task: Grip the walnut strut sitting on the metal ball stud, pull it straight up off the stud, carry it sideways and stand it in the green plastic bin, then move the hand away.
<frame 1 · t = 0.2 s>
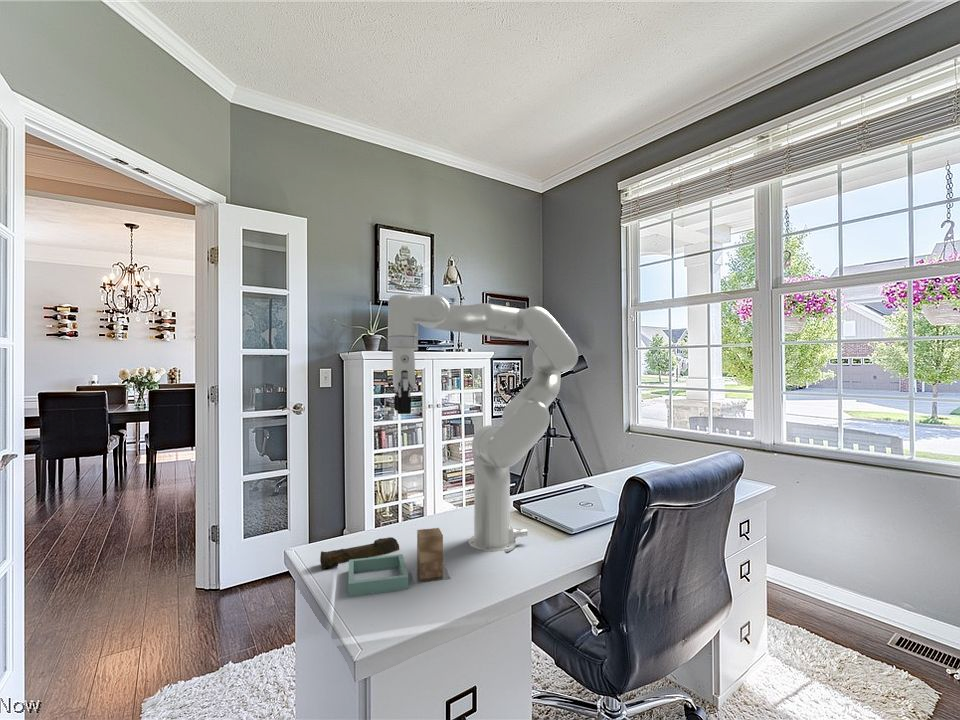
hand: (402, 412, 113), 36 cm above the table, tool pointing down, fingers open, 9 cm apart
hand tool: (360, 561, 110), on the table
bin: (377, 584, 98), on the table
stud base: (429, 577, 101), on the table
strut: (429, 572, 101), point 1 cm above the table, touching stud base
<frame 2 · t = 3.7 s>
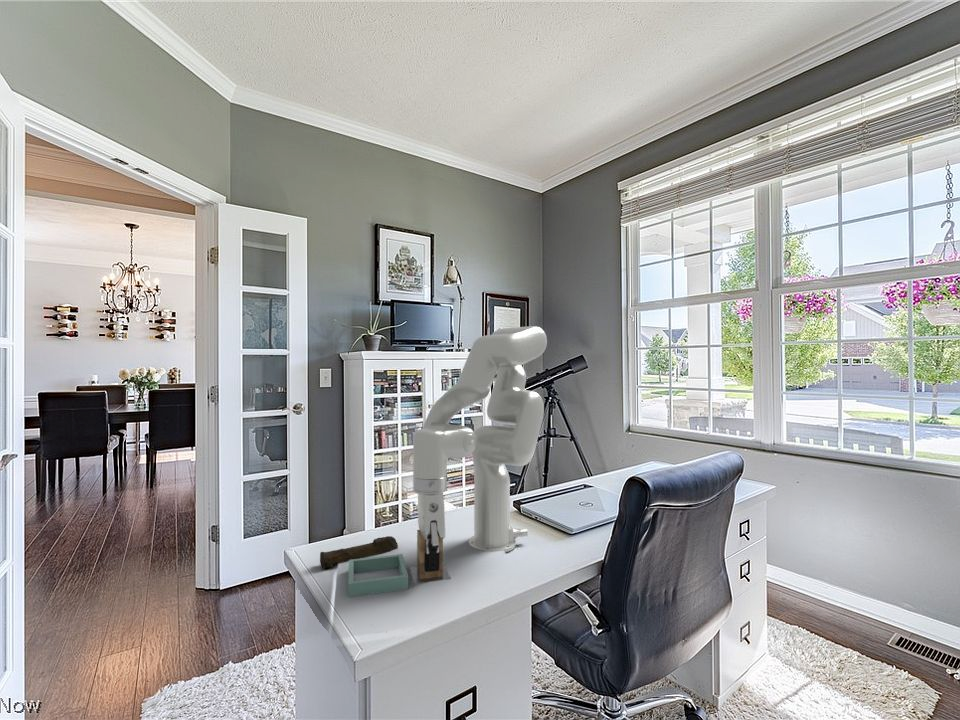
hand: (429, 564, 101), 3 cm above the table, tool pointing down, fingers closed on strut, 5 cm apart
strut: (429, 572, 101), point 1 cm above the table, touching gripper, stud base
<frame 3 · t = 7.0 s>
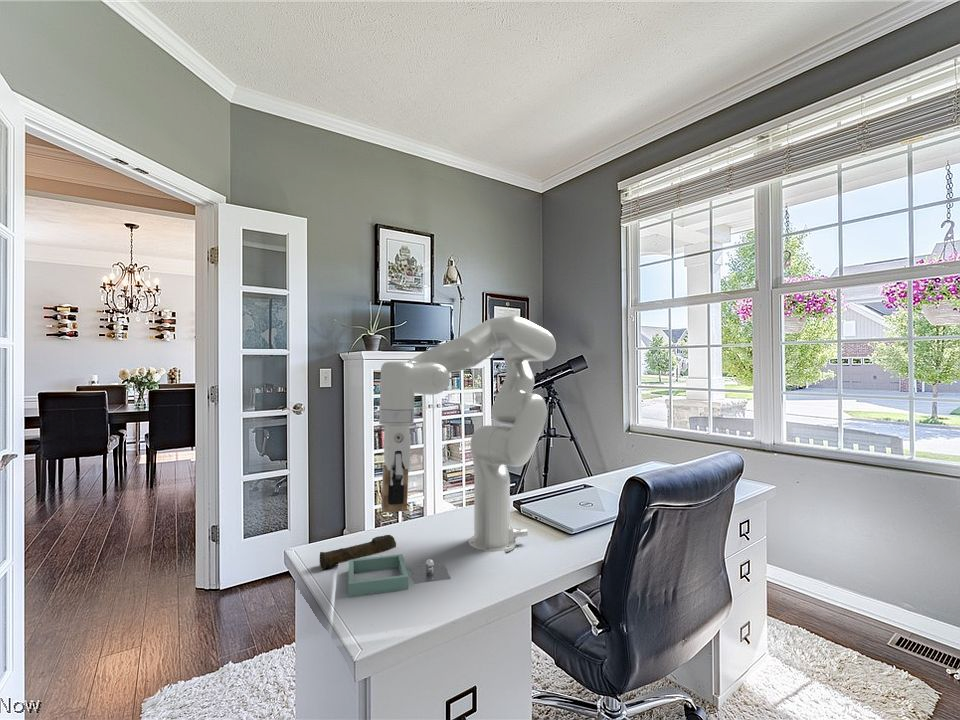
hand: (394, 499, 99), 18 cm above the table, tool pointing down, fingers closed on strut, 5 cm apart
strut: (393, 508, 98), point 16 cm above the table, touching gripper
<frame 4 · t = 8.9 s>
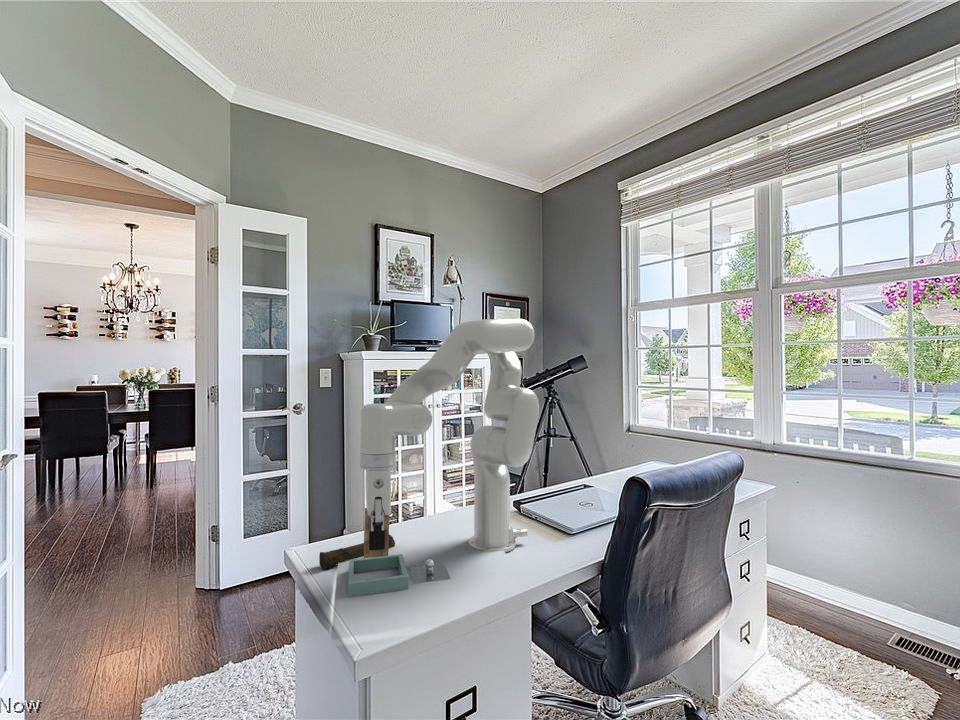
hand: (376, 543, 98), 9 cm above the table, tool pointing down, fingers closed on strut, 5 cm apart
strut: (375, 552, 98), point 7 cm above the table, touching gripper
when the fingers open (4 cm above the table, at t = 10.5 s): strut drops 2 cm, resting on bin.
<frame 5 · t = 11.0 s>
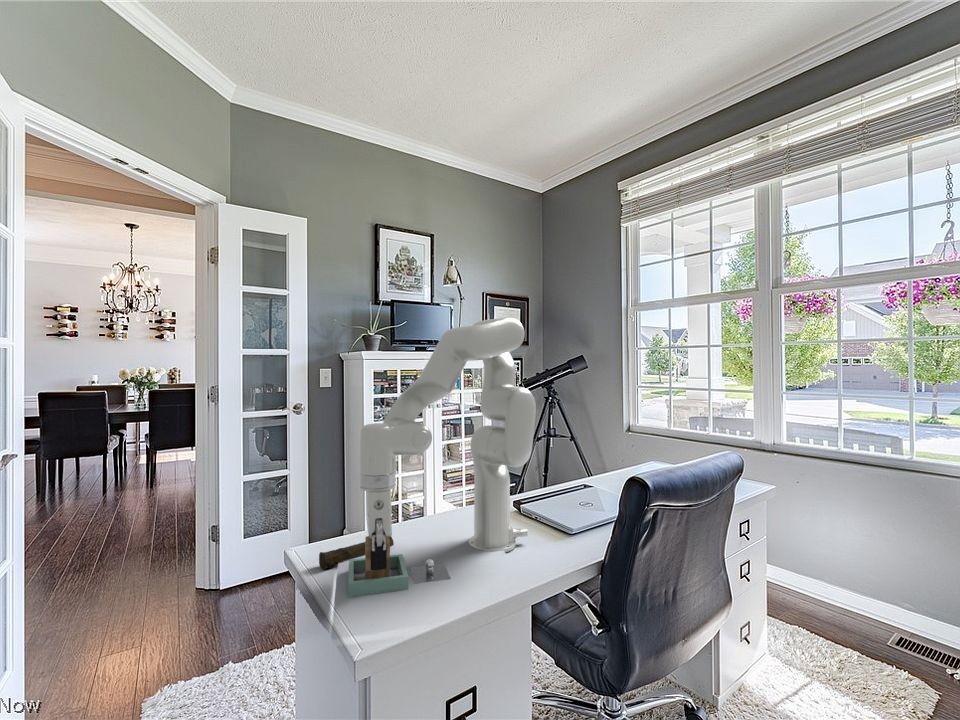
hand: (377, 559, 98), 5 cm above the table, tool pointing down, fingers open, 9 cm apart
strut: (377, 581, 98), point 1 cm above the table, touching bin
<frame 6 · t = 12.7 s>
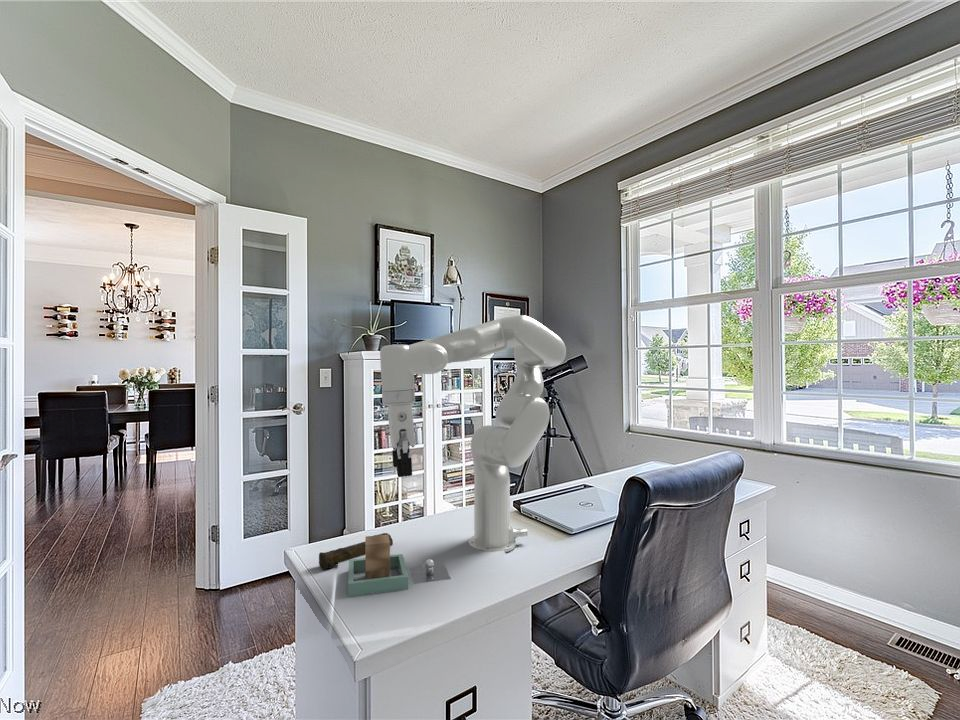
hand: (402, 471, 104), 23 cm above the table, tool pointing down, fingers open, 9 cm apart
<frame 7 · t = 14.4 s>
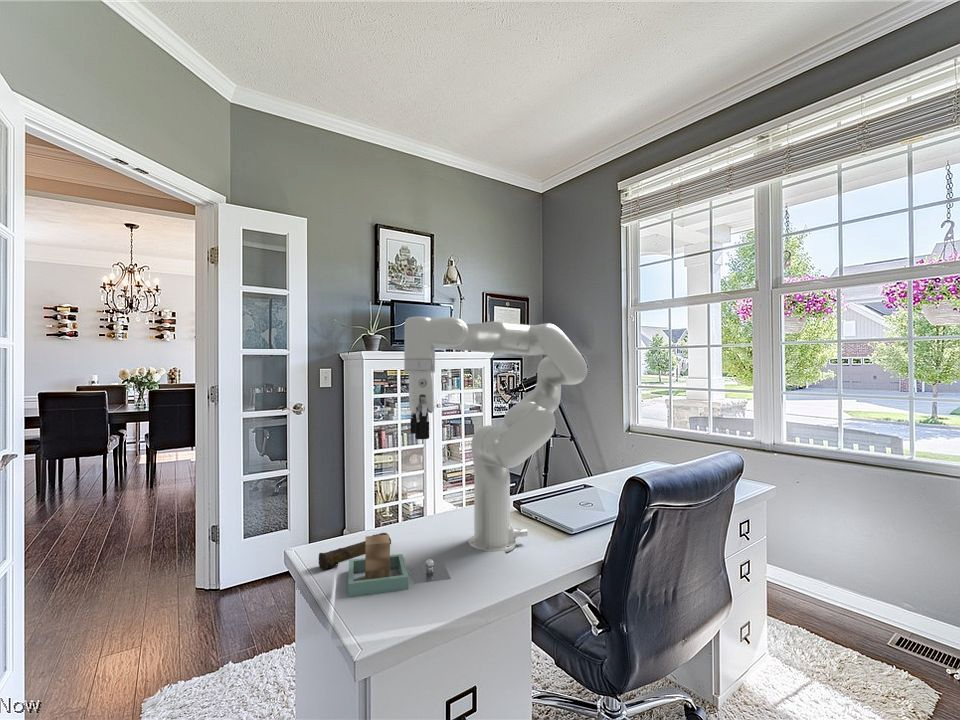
hand: (419, 436, 111), 30 cm above the table, tool pointing down, fingers open, 9 cm apart
at the end: strut 0.1 cm off-centre on the bin, point 0.6 cm above the bin's base; strut tilted 0°; the gripper is holding nothing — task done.
